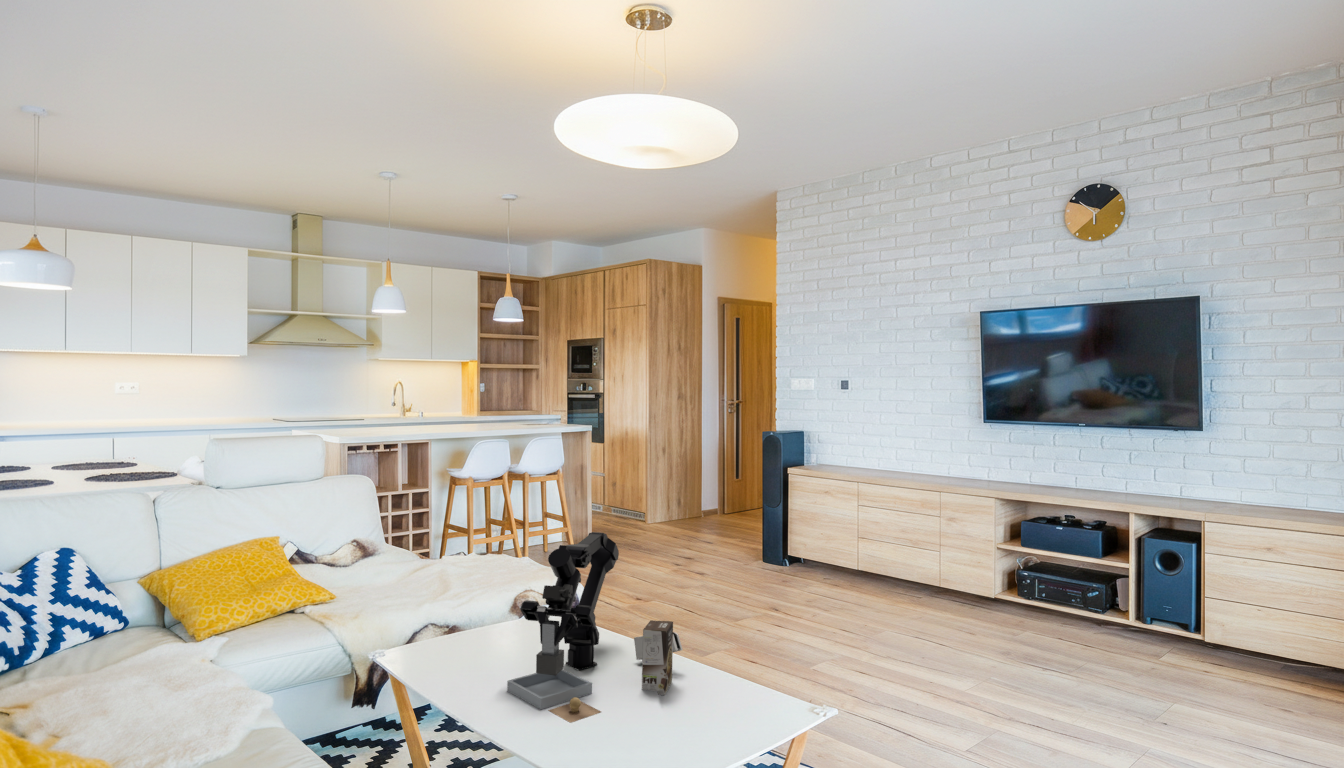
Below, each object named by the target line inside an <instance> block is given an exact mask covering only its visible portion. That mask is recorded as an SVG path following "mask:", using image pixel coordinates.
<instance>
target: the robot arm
mask: <svg viewBox="0 0 1344 768" xmlns="http://www.w3.org/2000/svg"><path fill="white" fill-rule="evenodd" d="M619 555H620V553H619V548H618V545H617V544H616V542H615V541H613V540H612V539H610V538H609V537H608V535H607V533H605V532H597V531H592V532H589V533H588V535H587V536H586V537H585V538H583V539H582V540H580V541H579V542H578V543H576V544H575V543H574V544H573V543H572V544H570V543H569V544H564V545H561V544H560V545H559V546H558V548H556V549H554V550H553V551H552V552H550V554H549V555H548V558H547V561H548V564H549V566H550V568H551V569H552V572H553V575H554V576H555V577H556V578H557V579H556V582H555V585H554V584H553V585H544V587H543V592H542V597H541V599H543V600H545V604H546V605H548V607H547V606H545V605H540V603H539V601H538V600H537V601H536V600H524V601H522V603H521V605H520V608H519V610H520V611H521V614H522V615H523V617H524V619H525V620H527V621H531V622H538V623H539V635H540V645H542V624H543V623H544V622H546V621H547V620H550V619H549V618H550V617H559V618H561V619H560V622H559V629H558V632H557V634H556V637H555V641H554V645H555V646H557V644H558V643H559V644H560V642H561V641H562V640H563V639H564V640H563V641H564V644H567V645H569V648H568V649H567V661H565V665H567V666H569V667H571V668H573V669H575V670H578V671H581V670H585V669H588V668H591V667H594V666H597V665H598V663H597V662H595V660H594V659H595V654H594V653H595V652H594V651H595V646H596V645H599V641H600V640H599V639H600V632H599V630H598V627H597V624H596V614H595V609H596V606H597V603H598V600H599V597H600V594H601V590H602V588H603V584H604V581H605V579H606V578H605V577H606V574H607V573H609V572H610V571H612V570H613V569H614V567H615V566H616V565H615V564H616V563H617V561H618V559H619ZM589 564H590V565H591V566H590V569H589V571H588V572H589V573H588V576H587V579H586V581H585V584H584V587H583V590H582V593H581V596H580V599H579V602H578V604H577V605H575V607H573V604H574V602H576V599H577V598H576V593H577V590H578V586H579V583H581V582H582V578H581V577H582V574H581V572H580V570H579V569H586V568H587V567H588V566H589Z"/></svg>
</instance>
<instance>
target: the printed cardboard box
mask: <svg viewBox="0 0 1344 768" xmlns="http://www.w3.org/2000/svg"><path fill="white" fill-rule="evenodd" d="M633 643H634V647H635V649H634V650H635V659H636V660H637V661H639V660H642V658H643V657H642V656H643V635H640V636H635V637H633ZM683 650H684V649H683V646H682V643H681V638H680V636H679V634H678V632H675V631H673V653H677V652H680V651H683Z"/></svg>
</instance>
